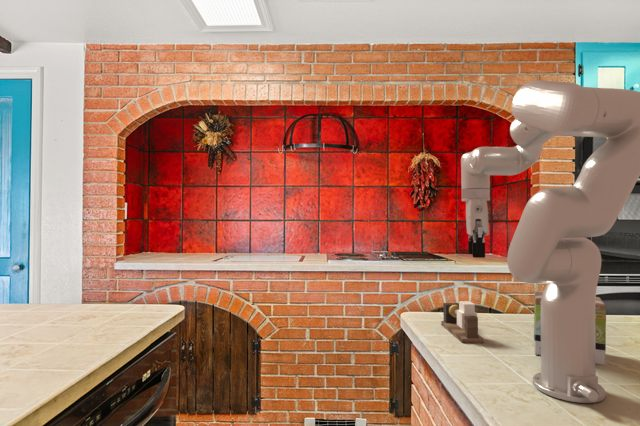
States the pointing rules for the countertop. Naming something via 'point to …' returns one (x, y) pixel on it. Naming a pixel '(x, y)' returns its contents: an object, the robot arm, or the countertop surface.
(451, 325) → the rail
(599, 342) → the tea box
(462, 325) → the sleeve
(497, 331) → the countertop surface
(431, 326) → the countertop surface
